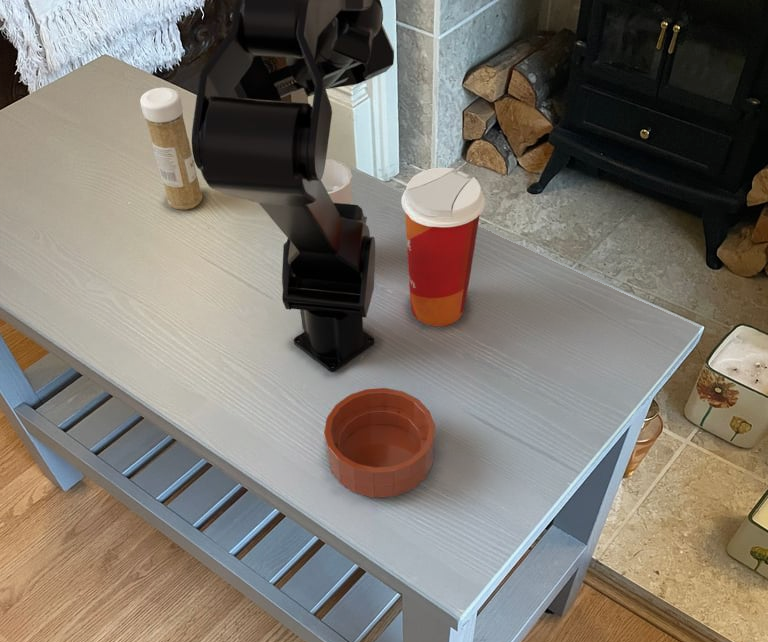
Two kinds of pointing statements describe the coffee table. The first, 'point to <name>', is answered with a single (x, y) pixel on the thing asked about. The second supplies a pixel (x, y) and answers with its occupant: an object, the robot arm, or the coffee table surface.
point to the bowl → (380, 442)
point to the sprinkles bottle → (172, 147)
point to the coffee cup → (441, 241)
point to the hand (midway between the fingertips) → (284, 98)
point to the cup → (338, 181)
